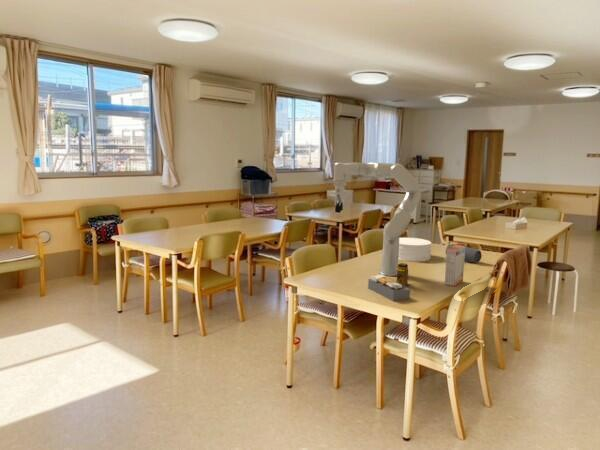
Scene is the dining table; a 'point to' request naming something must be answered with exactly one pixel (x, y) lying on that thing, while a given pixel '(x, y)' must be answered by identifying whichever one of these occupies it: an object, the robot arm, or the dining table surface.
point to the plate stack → (414, 249)
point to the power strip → (389, 291)
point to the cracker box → (454, 265)
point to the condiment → (402, 274)
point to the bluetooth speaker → (469, 254)
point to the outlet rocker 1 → (376, 278)
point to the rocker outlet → (394, 285)
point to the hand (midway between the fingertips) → (338, 211)
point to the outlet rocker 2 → (385, 280)
